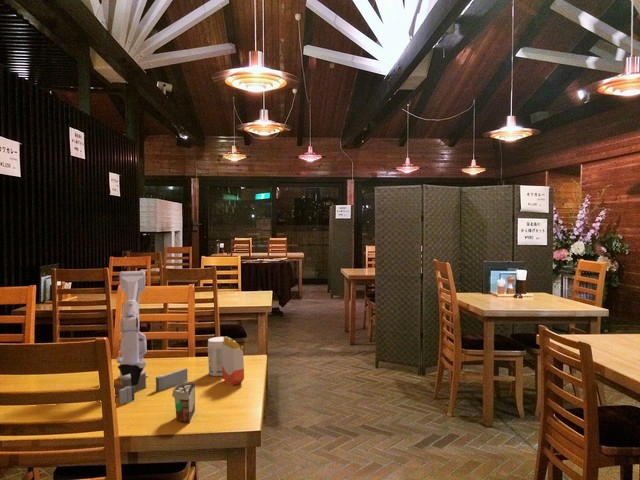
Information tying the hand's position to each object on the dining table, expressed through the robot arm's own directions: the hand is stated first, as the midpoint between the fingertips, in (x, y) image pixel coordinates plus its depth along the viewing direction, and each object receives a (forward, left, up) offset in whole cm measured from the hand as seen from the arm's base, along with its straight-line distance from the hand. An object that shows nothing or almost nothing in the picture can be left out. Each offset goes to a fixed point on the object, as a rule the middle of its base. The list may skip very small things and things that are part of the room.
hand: (131, 383), depth 182 cm
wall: (+9, +4, -3) cm, 10 cm away
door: (+4, -6, -3) cm, 8 cm away
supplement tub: (+14, +33, -3) cm, 36 cm away
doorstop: (0, +1, -3) cm, 3 cm away
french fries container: (+27, +27, -3) cm, 38 cm away
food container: (+37, -8, -3) cm, 38 cm away
